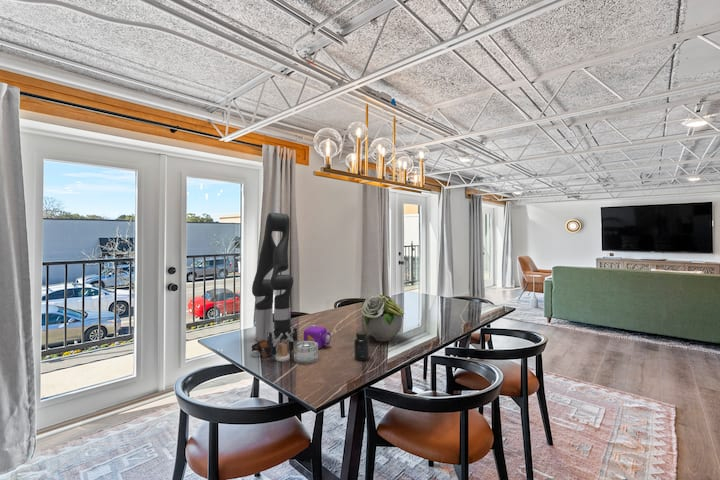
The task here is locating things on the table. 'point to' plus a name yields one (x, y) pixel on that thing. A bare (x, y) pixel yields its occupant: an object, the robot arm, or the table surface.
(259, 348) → the brown teapot
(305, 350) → the glass candle holder
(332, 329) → the table surface
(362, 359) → the supplement bottle
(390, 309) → the flower arrangement
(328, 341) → the toy camera
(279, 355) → the knob lid with grip
